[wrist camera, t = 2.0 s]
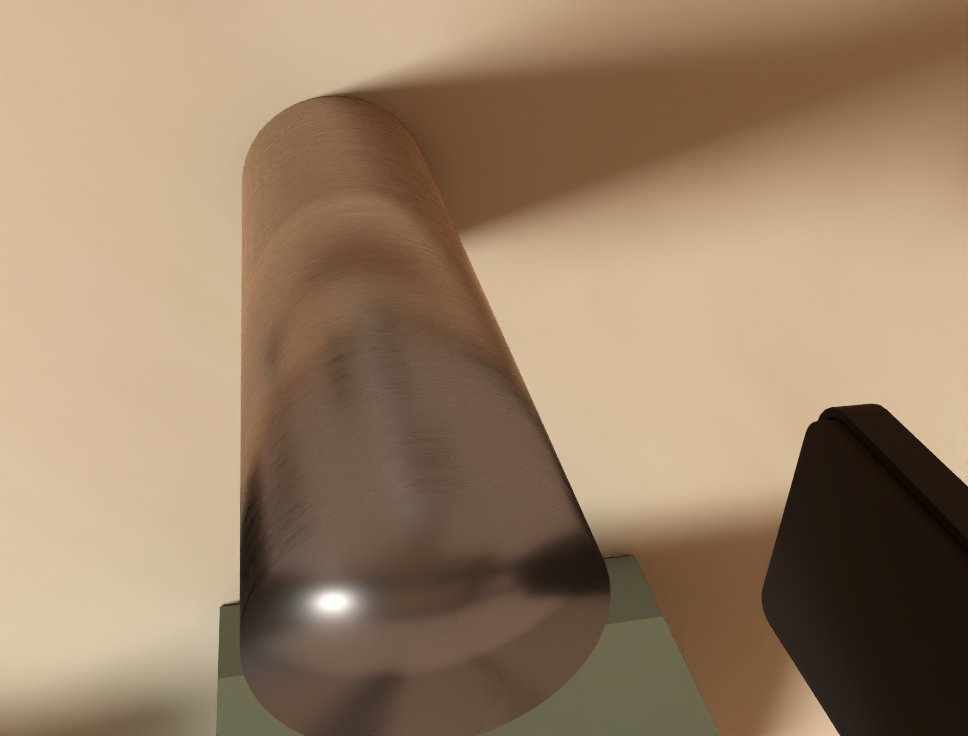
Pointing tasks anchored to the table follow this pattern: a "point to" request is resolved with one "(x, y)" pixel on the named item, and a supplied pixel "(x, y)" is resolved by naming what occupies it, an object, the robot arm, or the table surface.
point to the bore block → (568, 712)
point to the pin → (391, 455)
